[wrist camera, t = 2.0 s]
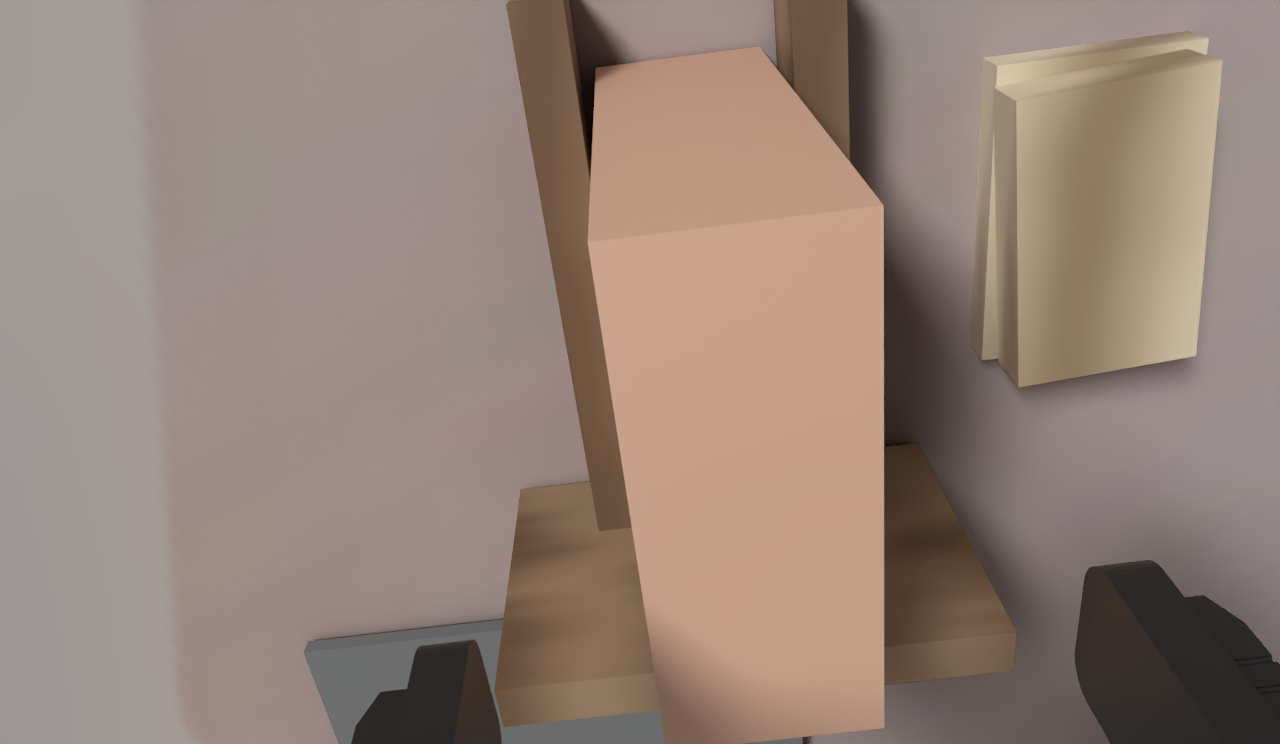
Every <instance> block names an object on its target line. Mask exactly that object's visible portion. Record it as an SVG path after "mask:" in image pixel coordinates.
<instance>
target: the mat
mask: <svg viewBox="0 0 1280 744" xmlns="http://www.w3.org/2000/svg"><path fill="white" fill-rule="evenodd" d="M503 620H504V619H502V620H493V621H484V622H475V623H467V624H458V625H449V626H440V627H431V628H423V629H414V630H405V631H396V632H387V633H379V634H370V635H361V636H352V637H344V638H335V639H326V640H317V641H308V643H307V646H306V648H305V651H304V654H305V657H306V659H307V662H308V665H309V667H310V670H311V672H312V675H313V678H314V680H315V683H316V685H317V688H318V691H319V693H320V696H321V698H322V701H323V704H324V706H325V709H326V711H327V714H328V717H329V719H330V722H331V724H332V727H333V730H334V732H335V735H336V737H337V740H338V743H339V744H351V742H352V738H353V735H354V731H355V727H356V725H357V724H358V722H359V721H360V719H361V718H362V717H363V715H364V714H365V712H366V711H367V710H368V708H369V707H370V706H371V704H372V703H373V701H374V700H375V699H376V697H377V696H378V694H379V693H380V692H384V691H392V690H401V689H407V686H408V682H409V677H410V673H411V668H412V664H413V659H414V655H415V652H416V650H417V648H418V647H419V646H424V645H432V644H441V643H449V642H457V641H465V640H475V641H476V642H477V643H478V646H479V649H480V652H481V656H482V659H483V663H484V667H485V670H486V674H487V678H488V682H489V685H490V689H491V693H492V696H493V700H494V704H495V707H496V711H497V715H498V719H499V724H500V730H501V739H502V744H665V738H664V732H663V725H662V719H661V712H660V710H655V711H645V712H636V713H627V714H618V715H609V716H600V717H591V718H582V719H573V720H564V721H555V722H546V723H537V724H528V725H519V726H510V727H504V726H503V722H502V719H501V715H500V711H499V707H498V704H497V700H496V696H495V692H494V687H495V680H496V672H497V665H498V657H499V650H500V643H501V635H502V628H503ZM744 744H803V737H799V738H790V739H780V740H771V741H762V742H753V743H744Z"/></svg>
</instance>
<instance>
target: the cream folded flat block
mask: <svg viewBox="0 0 1280 744" xmlns="http://www.w3.org/2000/svg"><path fill="white" fill-rule="evenodd" d="M1208 42H1209V38H1206V37H1203V36H1200V35H1197V34H1194V33H1190V32H1187V31H1186V32H1178V33H1170V34H1163V35H1155V36H1147V37H1139V38H1132V39H1124V40H1116V41H1109V42H1101V43H1093V44H1085V45H1078V46H1070V47H1062V48H1055V49H1047V50H1039V51H1031V52H1024V53H1016V54H1008V55H1001V56H993V57H985V58H983V65H982V87H981V109H980V131H979V153H978V175H977V197H976V219H975V241H974V263H973V285H972V307H971V329H970V345H971V347H972V348H973V349H974V351H975V352H976V353H977V355H978V356H979V357H980V359H981V360H982V361H983V360H991V359H998V321H997V268H996V214H995V161H994V108H993V87H997V86H1002V85H1007V84H1012V83H1017V82H1022V81H1027V80H1032V79H1037V78H1042V77H1047V76H1052V75H1057V74H1062V73H1067V72H1072V71H1077V70H1082V69H1087V68H1093V67H1098V66H1103V65H1108V64H1113V63H1118V62H1123V61H1128V60H1133V59H1138V58H1143V57H1148V56H1153V55H1158V54H1163V53H1168V52H1173V51H1178V50H1183V49H1190V50H1193V51H1196V52H1199V53H1202V54H1205V55H1207V48H1208Z"/></svg>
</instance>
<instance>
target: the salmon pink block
mask: <svg viewBox="0 0 1280 744" xmlns="http://www.w3.org/2000/svg"><path fill="white" fill-rule="evenodd" d="M588 248H589V255H590V261H591V268H592V274H593V281H594V287H595V293H596V300H597V306H598V313H599V319H600V326H601V332H602V339H603V345H604V351H605V358H606V364H607V371H608V377H609V384H610V390H611V397H612V403H613V409H614V416H615V422H616V429H617V435H618V442H619V448H620V455H621V461H622V467H623V474H624V480H625V487H626V493H627V500H628V506H629V513H630V519H631V525H632V532H633V538H634V545H635V551H636V558H637V564H638V571H639V577H640V583H641V590H642V596H643V603H644V609H645V616H646V622H647V629H648V635H649V641H650V648H651V654H652V661H653V667H654V674H655V680H656V687H657V693H658V699H659V706H660V712H661V719H662V725H663V732H664V738H665V744H744V743H753V742H762V741H771V740H780V739H790V738H799V737H808V736H817V735H826V734H835V733H845V732H854V731H863V730H872V729H881V728H884V205H883V204H882V202H881V201H880V200H879V199H878V197H877V196H876V195H875V194H874V192H873V191H872V190H871V188H870V187H869V186H868V185H867V183H866V182H865V181H864V179H863V178H862V177H861V176H860V174H859V173H858V172H857V171H856V169H855V168H854V167H853V165H852V164H851V163H850V162H849V160H848V159H847V158H846V157H845V155H844V154H843V153H842V151H841V150H840V149H839V148H838V146H837V145H836V144H835V142H834V141H833V140H832V139H831V137H830V136H829V135H828V134H827V132H826V131H825V130H824V128H823V127H822V126H821V125H820V123H819V122H818V121H817V120H816V118H815V117H814V116H813V114H812V113H811V112H810V111H809V109H808V108H807V107H806V105H805V104H804V103H803V102H802V100H801V99H800V98H799V97H798V95H797V94H796V93H795V91H794V90H793V89H792V88H791V86H790V85H789V84H788V83H787V81H786V80H785V79H784V77H783V76H782V75H781V74H780V72H779V71H778V70H777V68H776V67H775V66H774V65H773V63H772V62H771V61H770V60H769V58H768V57H767V56H766V54H765V53H764V52H763V51H762V49H761V48H760V47H759V46H758V47H750V48H743V49H735V50H727V51H720V52H712V53H704V54H697V55H689V56H681V57H674V58H666V59H658V60H651V61H643V62H635V63H628V64H620V65H612V66H605V67H597V68H596V74H595V95H594V117H593V138H592V159H591V180H590V202H589V223H588Z"/></svg>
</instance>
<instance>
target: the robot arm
mask: <svg viewBox="0 0 1280 744" xmlns="http://www.w3.org/2000/svg"><path fill="white" fill-rule="evenodd" d="M1075 664H1076V671H1077V676H1078V680H1079V683H1080V687H1081V689H1082V692H1083V695H1084V697H1085V699H1086V701H1087V703H1088V705H1089V706H1090V708H1091V710H1092V712H1093V713H1094V715H1095V717H1096V719H1097V720H1098V722H1099V724H1100V726H1101V727H1102V729H1103V731H1104V733H1105V734H1106V736H1107V738H1108V740H1109V741H1110V743H1111V744H1280V665H1279V663H1278V662H1273V660H1272V655H1271V654H1270V653H1269V651H1268V650H1267V649H1266V648H1265V647H1264V645H1263V644H1262V643H1261V642H1260V641H1259V639H1258V638H1257V637H1256V636H1255V635H1254V634H1253V632H1252V631H1251V630H1250V629H1249V628H1248V626H1247V625H1246V624H1245V623H1244V622H1243V621H1241V620H1240V619H1238V618H1237V617H1235V616H1234V615H1232V614H1231V613H1229V612H1228V611H1226V610H1225V609H1223V608H1222V607H1220V606H1219V605H1217V604H1216V603H1214V602H1213V601H1211V600H1210V599H1208V598H1207V597H1205V596H1204V595H1202V596H1194V597H1186V598H1185V597H1184V596H1183V595H1182V593H1181V592H1180V591H1179V590H1178V588H1177V587H1176V586H1175V585H1174V583H1173V582H1172V581H1171V579H1170V578H1169V577H1168V576H1167V574H1166V573H1165V572H1164V571H1163V569H1162V568H1161V567H1160V566H1159V565H1158V564H1157V563H1155V562H1153V561H1151V560H1144V561H1136V562H1128V563H1119V564H1111V565H1103V566H1094V567H1091V568H1089V569H1088V571H1087V572H1086V575H1085V579H1084V586H1083V594H1082V602H1081V610H1080V617H1079V625H1078V633H1077V640H1076V648H1075ZM351 744H502V739H501V730H500V724H499V719H498V715H497V711H496V707H495V704H494V700H493V696H492V693H491V689H490V685H489V682H488V678H487V674H486V670H485V667H484V663H483V659H482V656H481V652H480V649H479V646H478V643H477V642H476V641H475V640H465V641H457V642H449V643H441V644H432V645H424V646H419V647H418V648H417V650H416V652H415V655H414V659H413V664H412V668H411V673H410V677H409V682H408V686H407V689H401V690H392V691H384V692H380V693H379V694H378V696H377V697H376V699H375V700H374V701H373V703H372V704H371V706H370V707H369V708H368V710H367V711H366V712H365V714H364V715H363V717H362V718H361V719H360V721H359V722H358V724H357V725H356V727H355V731H354V735H353V738H352V742H351Z"/></svg>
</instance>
